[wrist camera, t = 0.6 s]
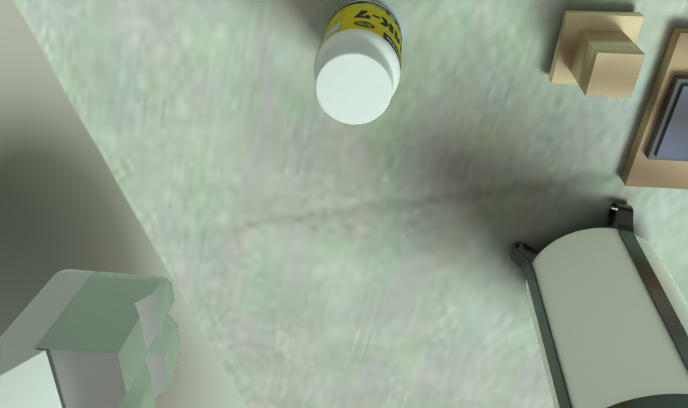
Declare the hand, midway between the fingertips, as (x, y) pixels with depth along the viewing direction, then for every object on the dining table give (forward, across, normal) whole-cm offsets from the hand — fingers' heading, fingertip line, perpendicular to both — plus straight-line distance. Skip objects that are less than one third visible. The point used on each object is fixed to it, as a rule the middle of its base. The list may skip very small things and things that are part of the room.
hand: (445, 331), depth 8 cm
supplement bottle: (+38, +2, +4) cm, 38 cm away
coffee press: (+39, -22, +25) cm, 51 cm away
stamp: (+37, -15, +4) cm, 40 cm away
